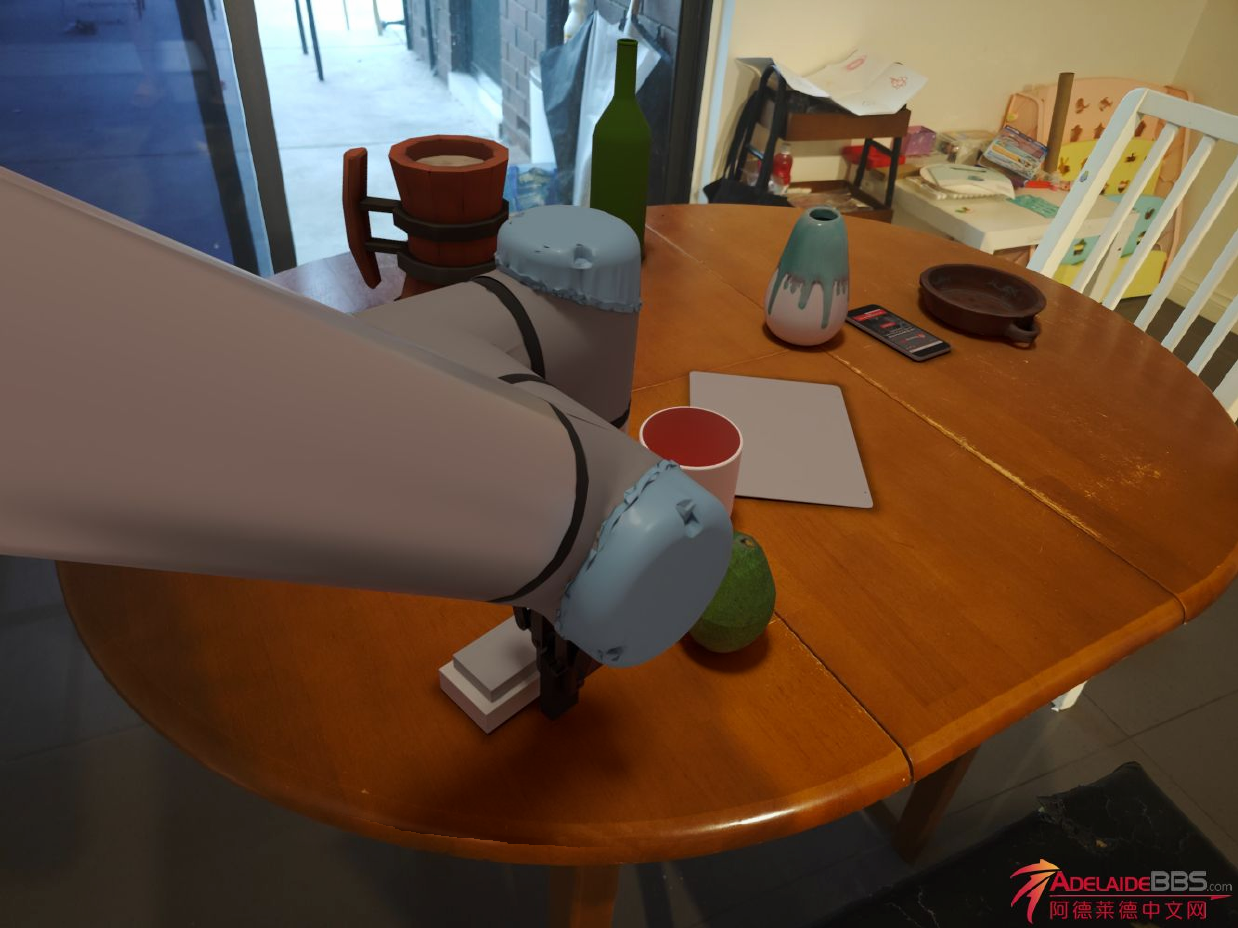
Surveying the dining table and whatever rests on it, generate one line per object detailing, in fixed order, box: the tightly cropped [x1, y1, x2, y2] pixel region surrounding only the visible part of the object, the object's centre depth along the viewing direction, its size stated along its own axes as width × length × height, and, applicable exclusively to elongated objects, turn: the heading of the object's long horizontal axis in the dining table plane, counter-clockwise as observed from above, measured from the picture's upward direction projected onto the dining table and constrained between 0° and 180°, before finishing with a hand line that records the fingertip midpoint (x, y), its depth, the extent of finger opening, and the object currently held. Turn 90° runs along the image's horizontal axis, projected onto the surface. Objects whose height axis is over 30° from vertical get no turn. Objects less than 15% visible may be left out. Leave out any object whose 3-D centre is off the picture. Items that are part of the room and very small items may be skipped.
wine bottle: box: [589, 37, 653, 262], centre depth 129 cm, size 9×9×32 cm
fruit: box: [687, 530, 777, 654], centre depth 71 cm, size 8×8×12 cm
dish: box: [918, 263, 1047, 344], centre depth 128 cm, size 18×22×5 cm
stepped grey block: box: [438, 608, 540, 735], centre depth 69 cm, size 10×6×4 cm, turn 136°
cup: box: [638, 405, 743, 517], centre depth 85 cm, size 10×10×10 cm
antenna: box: [689, 370, 874, 509], centre depth 101 cm, size 25×24×1 cm
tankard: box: [341, 133, 510, 302], centre depth 108 cm, size 22×25×25 cm
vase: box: [762, 205, 851, 347], centre depth 116 cm, size 12×12×18 cm
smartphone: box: [845, 303, 953, 362], centre depth 123 cm, size 7×1×15 cm
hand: (559, 706), depth 66 cm, fingers closed
